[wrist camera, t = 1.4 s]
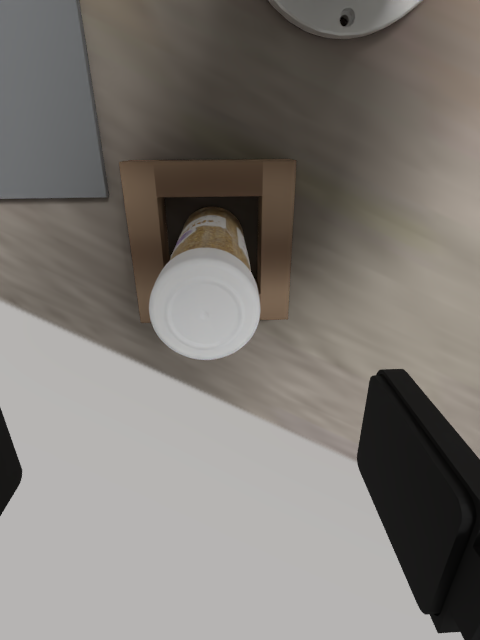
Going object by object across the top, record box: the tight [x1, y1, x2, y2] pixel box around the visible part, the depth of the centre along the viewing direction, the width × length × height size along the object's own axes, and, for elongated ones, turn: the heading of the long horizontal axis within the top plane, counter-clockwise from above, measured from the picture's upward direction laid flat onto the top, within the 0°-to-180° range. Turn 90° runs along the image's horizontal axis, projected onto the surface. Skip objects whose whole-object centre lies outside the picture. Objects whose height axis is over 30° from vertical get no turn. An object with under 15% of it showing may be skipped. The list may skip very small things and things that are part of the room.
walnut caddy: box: [119, 159, 296, 323], centre depth 25 cm, size 10×10×3 cm
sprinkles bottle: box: [149, 207, 260, 360], centre depth 21 cm, size 5×5×14 cm
